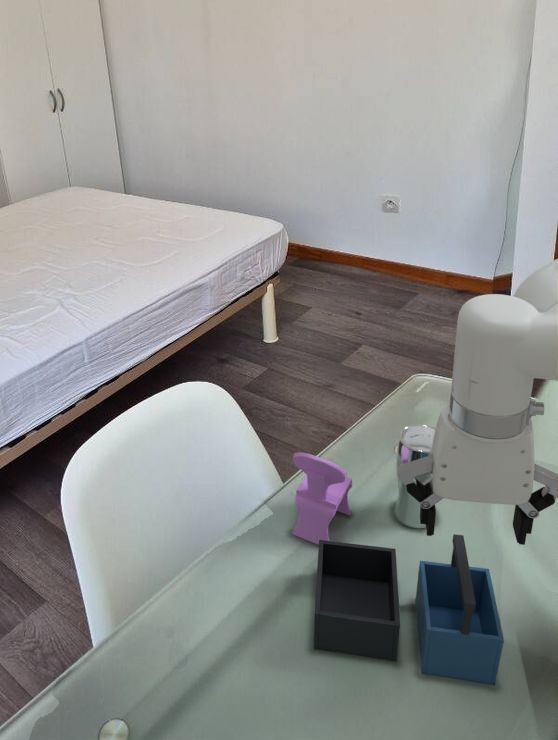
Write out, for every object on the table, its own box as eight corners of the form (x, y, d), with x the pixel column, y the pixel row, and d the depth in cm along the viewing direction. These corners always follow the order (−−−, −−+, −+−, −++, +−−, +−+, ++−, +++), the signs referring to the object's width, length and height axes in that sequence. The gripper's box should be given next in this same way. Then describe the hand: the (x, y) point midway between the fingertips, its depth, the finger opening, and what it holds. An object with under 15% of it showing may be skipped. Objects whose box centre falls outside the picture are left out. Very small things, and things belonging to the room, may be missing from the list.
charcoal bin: (392, 583, 96) (395, 548, 93) (396, 662, 86) (400, 626, 83) (318, 573, 99) (319, 539, 96) (313, 649, 88) (314, 613, 85)
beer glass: (391, 527, 105) (398, 450, 99) (390, 496, 111) (396, 421, 105) (439, 533, 104) (450, 455, 97) (436, 501, 110) (445, 425, 103)
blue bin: (481, 611, 91) (494, 538, 85) (495, 685, 82) (510, 609, 76) (415, 603, 93) (423, 530, 87) (421, 674, 84) (430, 598, 78)
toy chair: (358, 514, 108) (362, 438, 102) (336, 552, 102) (339, 473, 95) (309, 496, 113) (310, 421, 106) (285, 531, 106) (285, 454, 100)
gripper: (569, 393, 73) (547, 514, 80) (399, 385, 77) (393, 501, 85) (590, 437, 67) (564, 565, 74) (403, 426, 71) (396, 548, 78)
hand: (473, 531), depth 79 cm, fingers open, 9 cm apart
